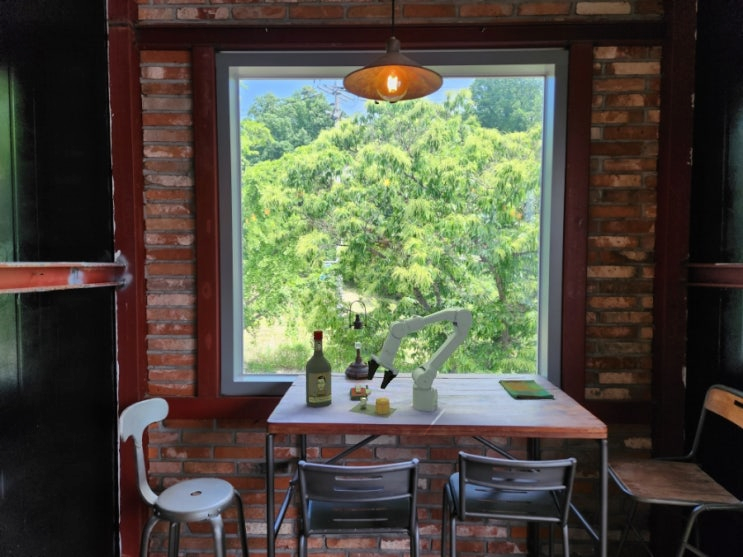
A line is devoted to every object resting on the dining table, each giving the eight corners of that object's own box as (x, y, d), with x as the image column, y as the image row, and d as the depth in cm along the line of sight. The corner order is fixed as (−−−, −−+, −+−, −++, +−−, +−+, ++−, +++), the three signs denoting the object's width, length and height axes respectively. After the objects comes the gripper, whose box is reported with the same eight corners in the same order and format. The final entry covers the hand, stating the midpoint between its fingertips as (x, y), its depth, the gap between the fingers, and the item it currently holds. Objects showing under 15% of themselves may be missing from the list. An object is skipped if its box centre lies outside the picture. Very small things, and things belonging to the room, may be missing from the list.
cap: (391, 410, 165) (391, 398, 165) (386, 414, 161) (386, 403, 160) (379, 408, 167) (379, 397, 167) (373, 412, 163) (373, 401, 162)
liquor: (305, 402, 176) (304, 330, 174) (326, 400, 179) (326, 328, 177) (310, 410, 168) (309, 334, 166) (332, 407, 171) (332, 332, 169)
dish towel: (513, 400, 180) (514, 395, 180) (497, 383, 204) (497, 378, 203) (555, 401, 180) (555, 395, 180) (534, 383, 204) (534, 378, 203)
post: (367, 407, 168) (367, 397, 168) (365, 409, 166) (365, 399, 165) (362, 406, 169) (362, 396, 169) (359, 408, 167) (359, 398, 166)
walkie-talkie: (372, 404, 176) (369, 388, 196) (372, 393, 176) (369, 378, 195) (350, 404, 175) (349, 388, 195) (350, 393, 175) (349, 379, 195)
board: (397, 411, 167) (397, 408, 167) (387, 420, 158) (387, 417, 158) (360, 405, 174) (359, 402, 173) (348, 413, 164) (348, 411, 164)
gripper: (369, 342, 168) (356, 374, 168) (395, 357, 158) (381, 392, 158) (381, 345, 173) (368, 376, 173) (407, 360, 163) (393, 393, 163)
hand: (375, 384), depth 166 cm, fingers open, 7 cm apart
